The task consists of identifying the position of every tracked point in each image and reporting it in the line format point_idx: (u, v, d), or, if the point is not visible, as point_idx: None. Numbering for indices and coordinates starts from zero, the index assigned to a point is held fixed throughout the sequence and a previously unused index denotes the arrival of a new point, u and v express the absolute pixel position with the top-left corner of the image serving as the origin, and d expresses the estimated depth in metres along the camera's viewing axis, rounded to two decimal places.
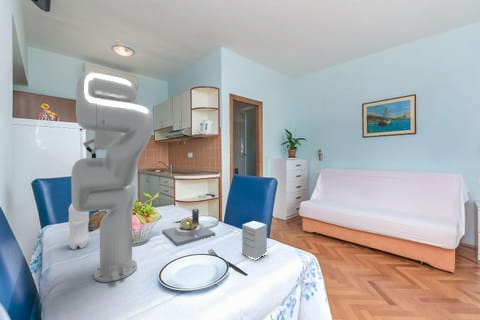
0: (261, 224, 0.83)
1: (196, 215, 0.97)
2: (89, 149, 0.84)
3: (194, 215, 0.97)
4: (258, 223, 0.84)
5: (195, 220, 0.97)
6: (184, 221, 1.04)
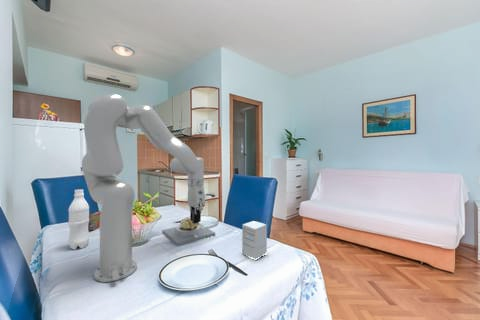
0: (261, 224, 0.83)
1: None
2: None
3: None
4: (258, 223, 0.84)
5: None
6: (184, 221, 1.04)
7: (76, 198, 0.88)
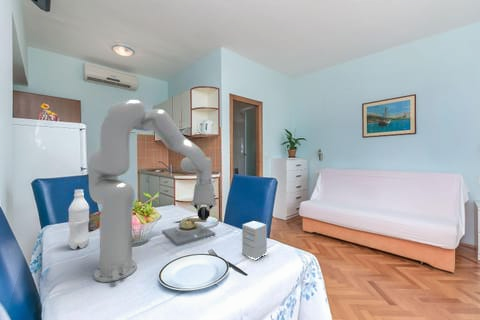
0: (261, 224, 0.83)
1: None
2: None
3: (204, 212, 1.03)
4: (258, 223, 0.84)
5: (205, 216, 1.03)
6: (186, 222, 1.03)
7: (76, 198, 0.88)
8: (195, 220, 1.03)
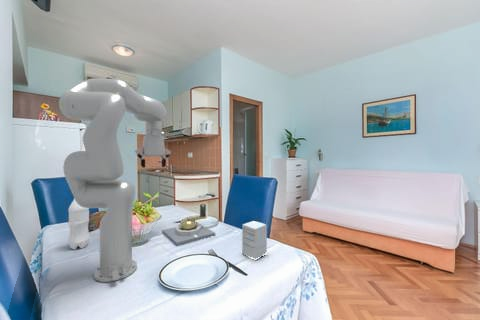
0: (261, 224, 0.83)
1: None
2: None
3: (205, 209, 1.09)
4: (258, 223, 0.84)
5: (205, 213, 1.10)
6: (189, 221, 1.03)
7: None
8: (197, 218, 1.06)
